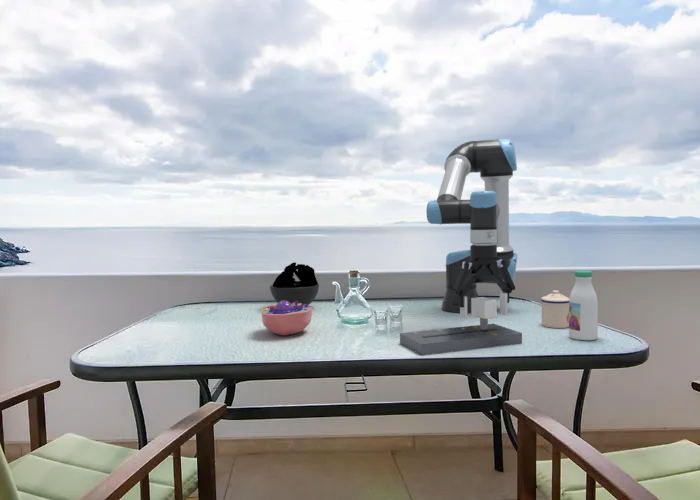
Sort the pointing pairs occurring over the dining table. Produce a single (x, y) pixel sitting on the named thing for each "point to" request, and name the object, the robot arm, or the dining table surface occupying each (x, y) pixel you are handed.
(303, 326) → the cell model
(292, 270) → the coal bowl
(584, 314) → the milk bottle
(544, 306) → the teacup with lid
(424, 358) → the dining table surface
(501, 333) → the fader console
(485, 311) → the fader knob
